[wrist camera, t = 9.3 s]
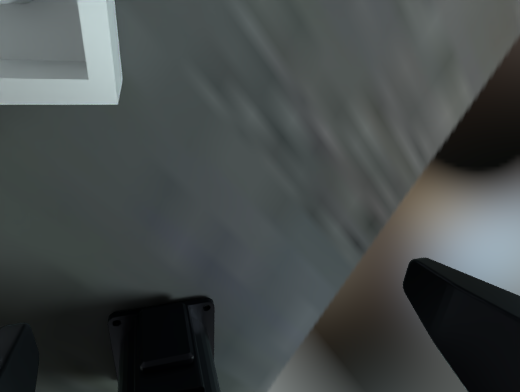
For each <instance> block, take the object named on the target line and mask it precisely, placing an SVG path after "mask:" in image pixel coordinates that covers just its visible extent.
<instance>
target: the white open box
mask: <svg viewBox="0 0 520 392" xmlns="http://www.w3.org/2000/svg"><path fill="white" fill-rule="evenodd" d="M122 81H123V77H122V68H121V58H120V48H119V39H118V29H117V19H116V9H115V0H0V105H118V101H119V96H120V91H121V86H122Z"/></svg>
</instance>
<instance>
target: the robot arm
mask: <svg viewBox="0 0 520 392" xmlns="http://www.w3.org/2000/svg"><path fill="white" fill-rule="evenodd" d="M403 289H404V292H405V294H406V295H407V297H408V299H409V301H410V302H411V304H412V306H413V308H414V310H415V311H416V313H417V315H418V316H419V318H420V320H421V322H422V323H423V325H424V327H425V329H426V330H427V332H428V334H429V335H430V337H431V339H432V341H433V342H434V344H435V345H436V347H437V348H438V350H439V351H440V353H441V354H442V356H443V357H444V358H445V360H446V361H447V363H448V364H449V365H450V367H451V368H452V370H453V371H454V373H455V374H456V375H457V377H458V378H459V380H460V381H461V383H462V384H463V386H464V387H465V388H466V390H467V391H468V392H520V296H519V295H516V294H514V293H511V292H509V291H506V290H504V289H501V288H499V287H497V286H494V285H492V284H489V283H487V282H485V281H482V280H480V279H477V278H475V277H472V276H470V275H467V274H465V273H463V272H460V271H458V270H455V269H453V268H451V267H448V266H445V265H443V264H441V263H438V262H436V261H434V260H431V259H429V258H418V259H413V260H411V261H410V263H409V265H408V268H407V271H406V275H405V278H404V281H403ZM206 305H208V306H207V307H204V306H206ZM115 320H120V321H115ZM108 328H109V333H110V339H111V345H112V351H113V357H114V363H115V368H116V374H117V380H118V392H220V387H219V382H218V378H217V373H216V369H215V364H214V304H213V300H212V299H210V298H203V299H197V300H191V301H184V302H178V303H172V304H166V305H159V306H153V307H147V308H140V309H134V310H128V311H121V312H116V313H113V314H111V315H110V316H109V319H108ZM38 365H39V352H38V348H37V345H36V342H35V339H34V336H33V332H32V329H31V327H30V325H29V324H28V323H25V322H23V323H17V324H11V325H6V326H3V327H2V328H1V329H0V392H35V387H36V379H37V372H38Z"/></svg>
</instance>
